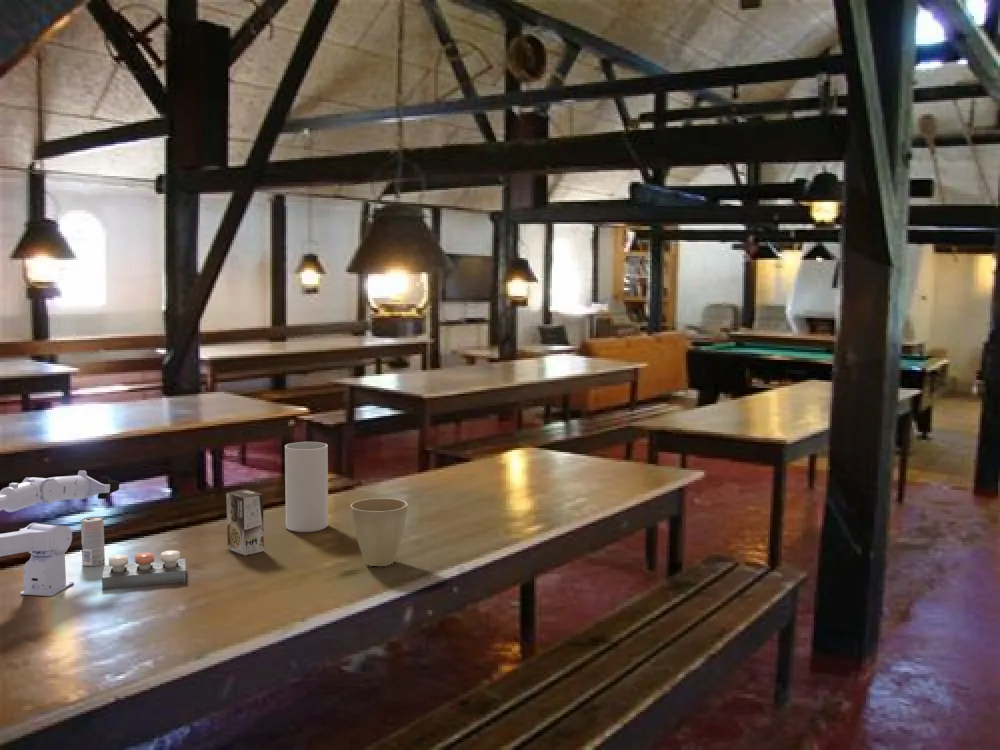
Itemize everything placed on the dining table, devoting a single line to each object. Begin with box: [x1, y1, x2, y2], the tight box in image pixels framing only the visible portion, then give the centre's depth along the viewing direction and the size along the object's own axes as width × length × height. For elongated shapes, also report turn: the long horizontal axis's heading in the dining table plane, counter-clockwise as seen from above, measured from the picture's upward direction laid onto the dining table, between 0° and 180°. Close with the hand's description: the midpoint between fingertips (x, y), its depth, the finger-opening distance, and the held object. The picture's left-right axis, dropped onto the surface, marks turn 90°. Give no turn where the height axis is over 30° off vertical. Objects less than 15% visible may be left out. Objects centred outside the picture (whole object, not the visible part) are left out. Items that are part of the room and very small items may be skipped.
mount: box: [101, 558, 187, 591], centre depth 228 cm, size 19×10×3 cm, turn 110°
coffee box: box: [225, 488, 265, 556], centre depth 252 cm, size 9×6×16 cm
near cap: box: [108, 554, 129, 573], centre depth 226 cm, size 4×4×4 cm
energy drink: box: [80, 516, 106, 568], centre depth 239 cm, size 5×5×12 cm
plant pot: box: [350, 497, 409, 568], centre depth 243 cm, size 15×15×16 cm
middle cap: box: [134, 552, 155, 570], centre depth 228 cm, size 4×4×4 cm
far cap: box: [160, 550, 181, 568], centre depth 230 cm, size 4×4×4 cm
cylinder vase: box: [284, 441, 329, 533], centre depth 276 cm, size 12×12×25 cm
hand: (105, 484), depth 238 cm, fingers open, 7 cm apart
